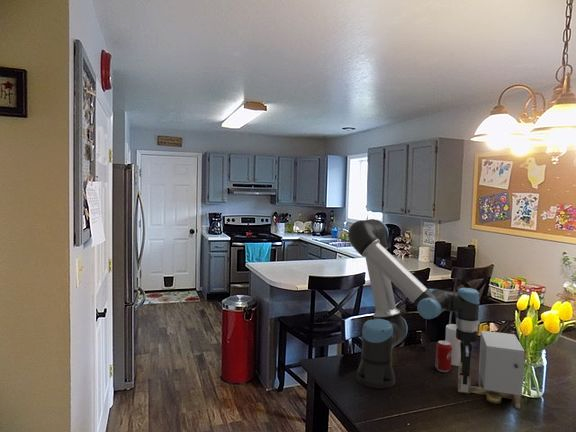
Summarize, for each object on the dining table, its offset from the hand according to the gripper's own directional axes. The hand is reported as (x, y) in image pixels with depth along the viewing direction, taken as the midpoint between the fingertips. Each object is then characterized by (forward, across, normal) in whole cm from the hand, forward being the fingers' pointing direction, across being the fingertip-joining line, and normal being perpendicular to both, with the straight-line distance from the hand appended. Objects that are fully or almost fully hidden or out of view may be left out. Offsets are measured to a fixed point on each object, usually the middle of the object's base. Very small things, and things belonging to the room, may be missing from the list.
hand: (463, 388), depth 161 cm
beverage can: (+1, +17, +7) cm, 18 cm away
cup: (+1, +28, +2) cm, 28 cm away
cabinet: (+1, 0, -12) cm, 12 cm away
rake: (+1, -3, -8) cm, 8 cm away
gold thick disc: (+1, -4, -10) cm, 11 cm away
